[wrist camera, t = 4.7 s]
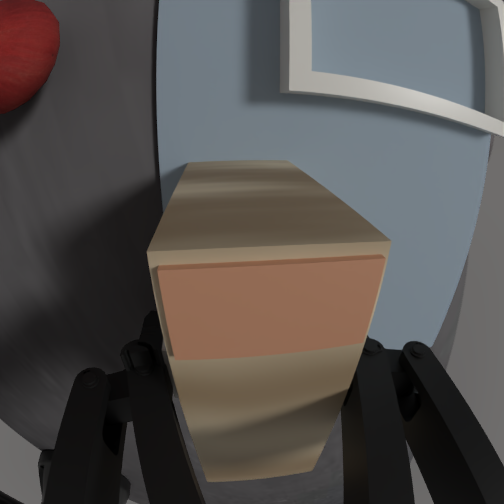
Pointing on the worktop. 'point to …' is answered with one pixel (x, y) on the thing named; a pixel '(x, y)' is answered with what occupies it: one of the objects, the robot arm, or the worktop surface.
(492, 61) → the frame
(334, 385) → the block
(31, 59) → the onion
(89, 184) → the worktop surface
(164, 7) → the mat
